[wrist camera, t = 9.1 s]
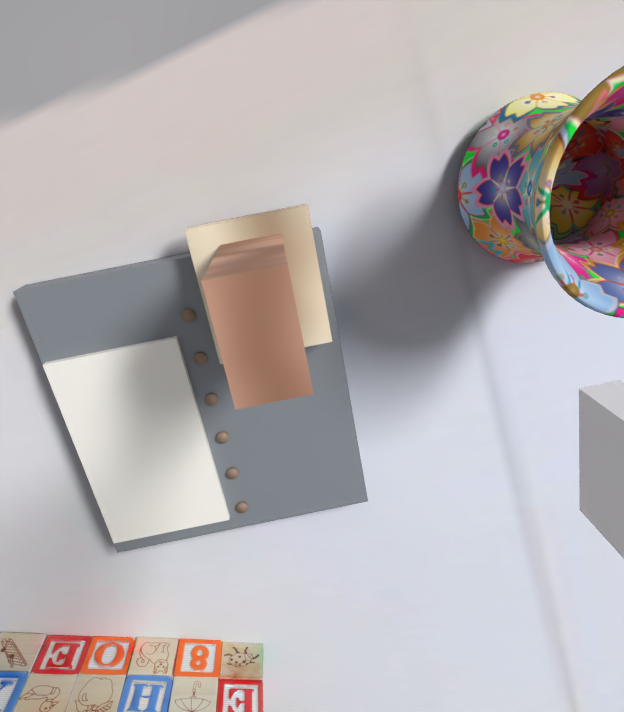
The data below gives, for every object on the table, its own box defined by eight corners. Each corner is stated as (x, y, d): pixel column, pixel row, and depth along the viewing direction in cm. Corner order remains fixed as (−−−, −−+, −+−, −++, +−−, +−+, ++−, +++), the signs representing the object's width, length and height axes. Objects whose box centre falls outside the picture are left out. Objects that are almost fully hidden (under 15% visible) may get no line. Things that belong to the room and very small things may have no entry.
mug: (473, 292, 31) (573, 357, 21) (420, 133, 27) (509, 119, 17) (673, 204, 30) (877, 228, 20) (643, 29, 26) (869, -48, 17)
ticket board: (123, 536, 34) (115, 556, 33) (25, 284, 28) (9, 293, 27) (363, 487, 35) (369, 505, 33) (318, 227, 28) (321, 231, 27)
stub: (221, 356, 29) (202, 440, 20) (187, 227, 26) (149, 260, 18) (329, 334, 29) (356, 409, 20) (306, 203, 26) (325, 225, 18)
